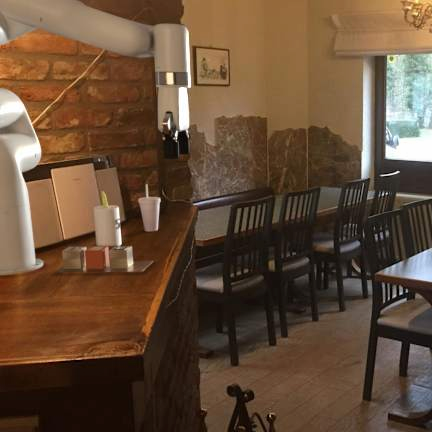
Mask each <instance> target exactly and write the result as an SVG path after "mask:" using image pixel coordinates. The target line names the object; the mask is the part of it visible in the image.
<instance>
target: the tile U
mask: <svg viewBox="0 0 432 432" xmlns="http://www.w3.org/2000/svg"><path fill="white" fill-rule="evenodd" d="M133 253H134V252H133V246H132V245H131V246H130V245H128V246H121V245H120V246H113V247H112V248H111V249H109V261H110V266H111V269H120V268H129V267H130V266H131V265H132V264H133V261H134V254H133Z"/></svg>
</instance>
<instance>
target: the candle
mask: <svg viewBox="0 0 432 432" xmlns="http://www.w3.org/2000/svg"><path fill="white" fill-rule="evenodd" d="M101 200H102V201H101V202H102V205H98V206H94V207H92V208H93V222H94V231H95V232H94V233H95V244H96V246H95V247H98V246H108V247H115V246H121V245H122V234H121V218H120V217H121V216H120V207H119V205H116V204H110V205H109V203H108V198H107V195H106V193H105V191H104V190H101Z"/></svg>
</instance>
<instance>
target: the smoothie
mask: <svg viewBox="0 0 432 432" xmlns="http://www.w3.org/2000/svg"><path fill="white" fill-rule="evenodd" d="M161 200H162V199H161V197H159V196H149V187H148V183H145V196H144V197H139V198H137V202H138V204H139V209H140V213H141V218H142V224H143V229H144V232H156V231H158V230H159V219H160V217H159V216H160V203H161V202H162V201H161Z"/></svg>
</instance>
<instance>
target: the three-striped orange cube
mask: <svg viewBox="0 0 432 432" xmlns="http://www.w3.org/2000/svg"><path fill="white" fill-rule="evenodd" d="M86 249H87V250H85V261H86V269H104V268H105V267H106V266H108V265H109V264H110V263H109V261H110V254H109V251H110V249H109V246H90V247H88V248H86Z"/></svg>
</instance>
